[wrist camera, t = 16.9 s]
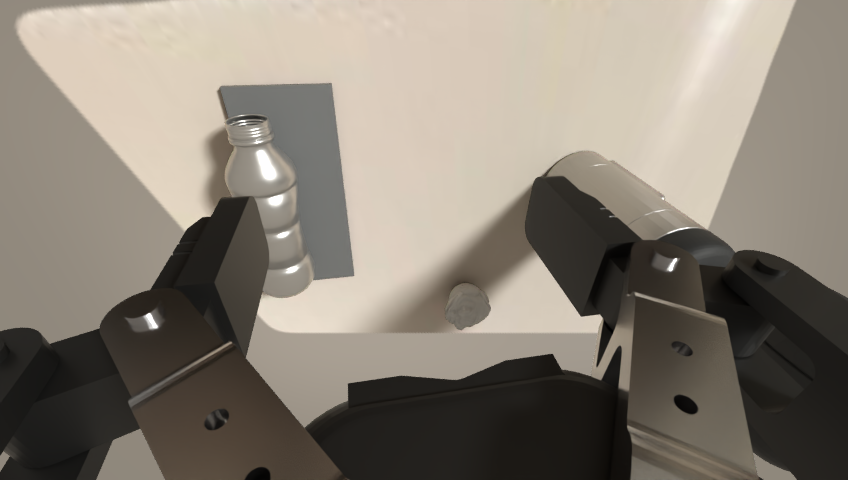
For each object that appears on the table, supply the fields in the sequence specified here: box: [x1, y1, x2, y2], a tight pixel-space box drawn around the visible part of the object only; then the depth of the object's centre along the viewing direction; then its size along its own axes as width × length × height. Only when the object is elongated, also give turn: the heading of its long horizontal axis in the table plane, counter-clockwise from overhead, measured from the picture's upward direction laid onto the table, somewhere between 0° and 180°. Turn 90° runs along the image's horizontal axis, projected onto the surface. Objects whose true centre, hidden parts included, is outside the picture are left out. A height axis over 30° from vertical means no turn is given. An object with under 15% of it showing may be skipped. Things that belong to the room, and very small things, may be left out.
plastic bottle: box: [225, 114, 315, 298], centre depth 39 cm, size 6×7×20 cm
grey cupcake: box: [445, 283, 491, 330], centre depth 53 cm, size 6×7×7 cm
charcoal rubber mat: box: [220, 83, 354, 280], centre depth 42 cm, size 10×24×1 cm, turn 0°
